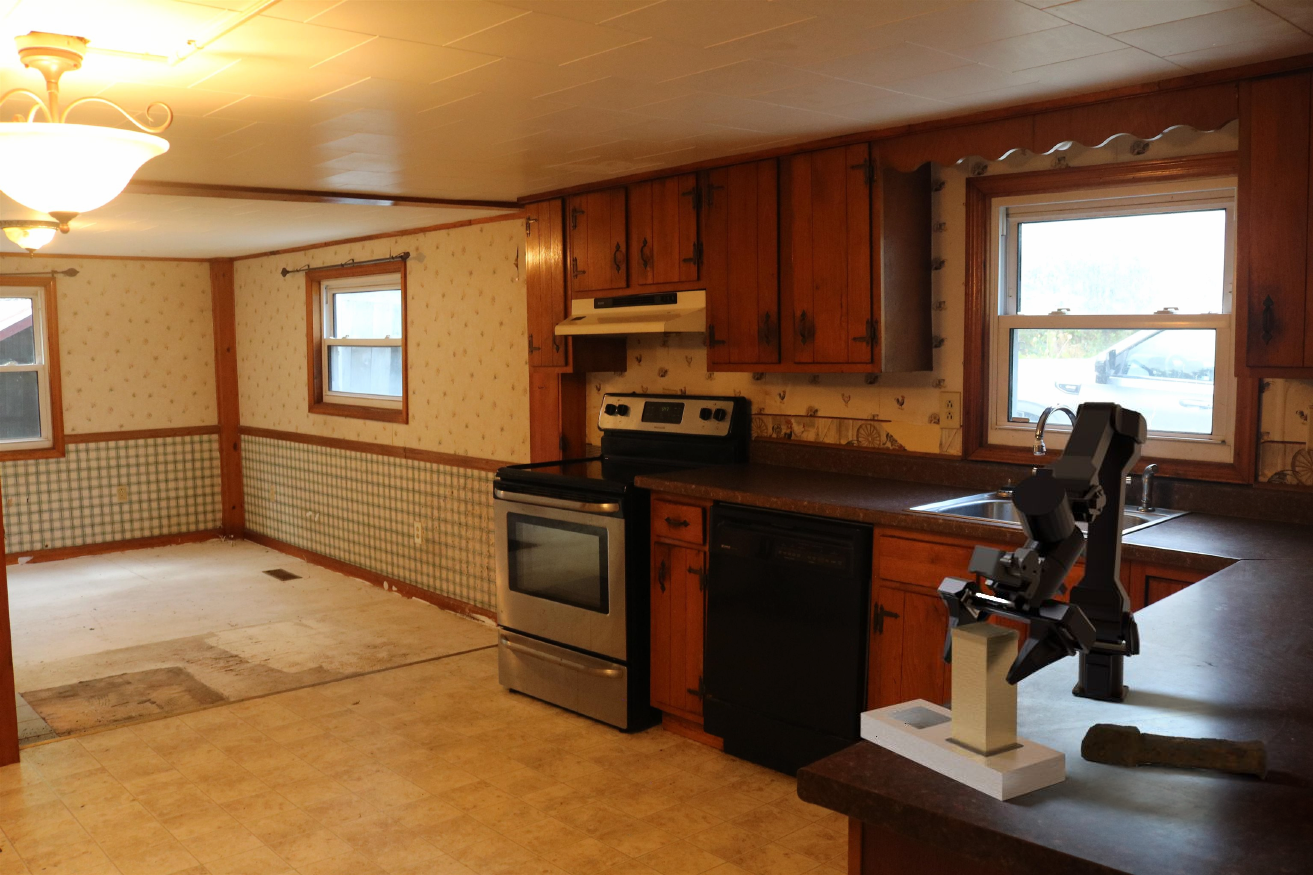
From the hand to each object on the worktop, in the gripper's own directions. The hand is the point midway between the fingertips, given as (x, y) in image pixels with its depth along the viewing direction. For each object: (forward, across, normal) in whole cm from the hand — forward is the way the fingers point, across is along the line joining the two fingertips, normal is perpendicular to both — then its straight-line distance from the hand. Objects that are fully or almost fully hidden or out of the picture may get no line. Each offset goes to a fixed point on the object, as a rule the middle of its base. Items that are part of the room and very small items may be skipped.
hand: (975, 671), depth 115 cm
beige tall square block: (+5, 0, +7) cm, 8 cm away
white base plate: (+7, -4, +9) cm, 12 cm away
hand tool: (-5, +11, +22) cm, 25 cm away
